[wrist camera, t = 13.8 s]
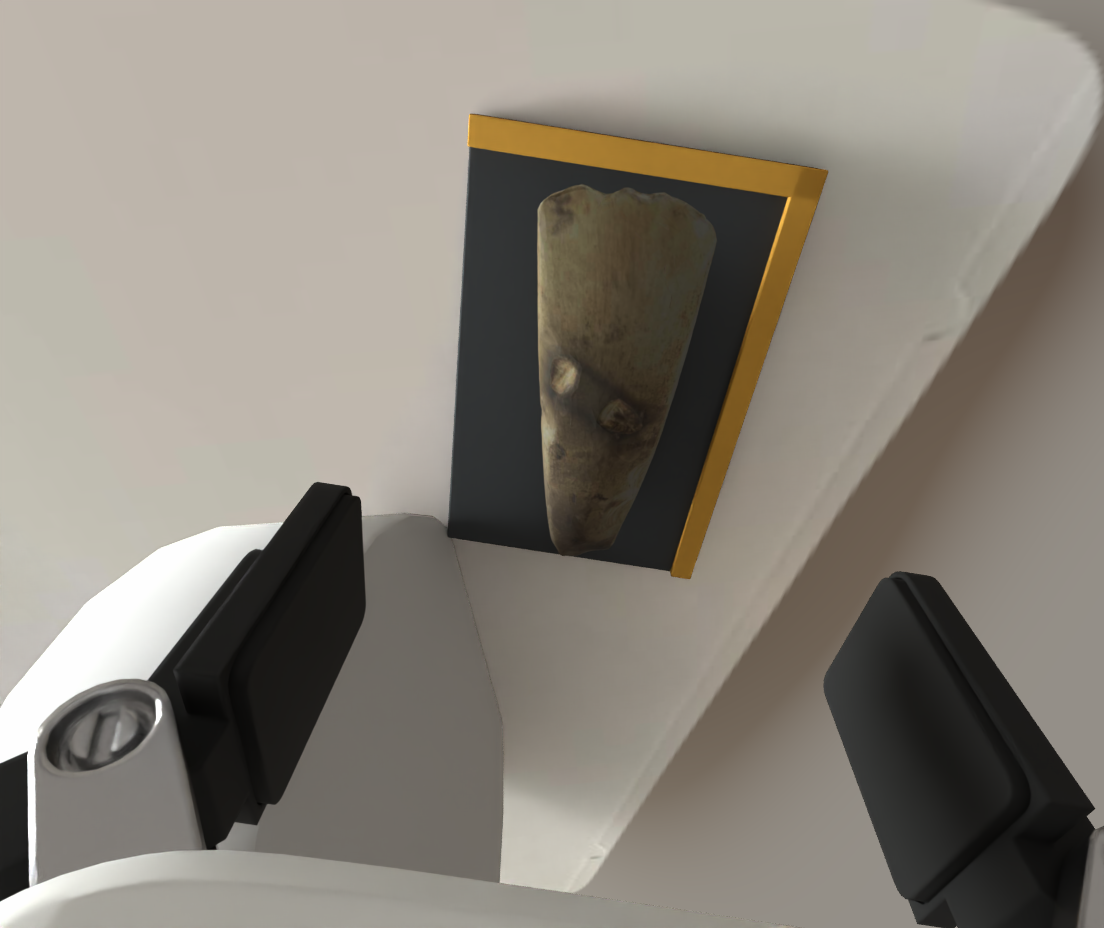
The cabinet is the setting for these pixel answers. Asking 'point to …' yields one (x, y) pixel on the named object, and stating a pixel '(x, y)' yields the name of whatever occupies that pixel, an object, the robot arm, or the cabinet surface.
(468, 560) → the cabinet surface
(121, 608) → the alarm clock
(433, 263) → the cabinet surface
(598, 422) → the stone
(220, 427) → the cabinet surface
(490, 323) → the corner mat
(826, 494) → the cabinet surface
